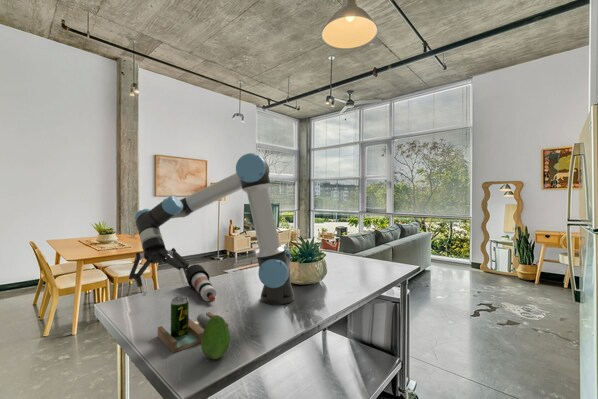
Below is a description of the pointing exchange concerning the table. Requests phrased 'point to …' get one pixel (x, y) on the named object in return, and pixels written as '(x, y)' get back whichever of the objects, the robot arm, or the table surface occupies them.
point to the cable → (200, 282)
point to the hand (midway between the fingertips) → (166, 289)
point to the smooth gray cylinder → (203, 319)
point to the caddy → (188, 341)
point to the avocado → (215, 338)
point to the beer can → (179, 317)
